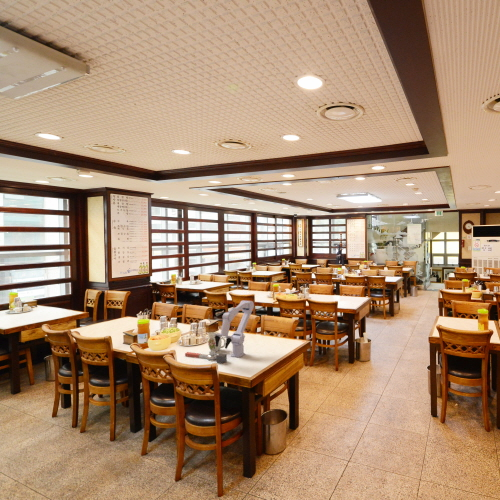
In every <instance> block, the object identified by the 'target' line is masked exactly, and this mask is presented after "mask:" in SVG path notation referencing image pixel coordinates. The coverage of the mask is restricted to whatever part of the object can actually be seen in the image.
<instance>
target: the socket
mask: <svg viewBox="0 0 500 500" xmlns="http://www.w3.org/2000/svg"><path fill="white" fill-rule="evenodd" d="M227 355H228V354H225V353H219V354H217V356H216V360H215V362H217V363H216V364H225V363H226V362H227V361H228V358H227V357H228V356H227Z"/></svg>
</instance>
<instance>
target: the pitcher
mask: <svg viewBox="0 0 500 500" xmlns="http://www.w3.org/2000/svg"><path fill="white" fill-rule="evenodd" d="M215 333H217V334H220V333H221V332H212V331H211V332H210V331H209V332H208V331H207V332H205V334H207V337H208V339H207V346H208V349H209V350H210V351H215V352H218V351H220V349H222V348H225V345H226V338H223V337H224V336H222V337H221V338H220V340H219V344H218V347H216V341H215V336H214V335H215ZM222 340H223V345H222Z"/></svg>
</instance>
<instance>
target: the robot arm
mask: <svg viewBox="0 0 500 500" xmlns="http://www.w3.org/2000/svg"><path fill="white" fill-rule="evenodd" d="M254 307H255V304H254V301H252V300H244V299H243V300H241V301H240V302H239V304H238V305H237V306H236V307H231V309H230V310H228V311H227V312H224V313H223V315H222V316H221V317H222V325H221V330H220V332H219V333H220V334H217V333H218V332H217V333H215V335H214V336H215V341H216V347H218V344H219V340H220V338H222V337H223V338H224V339H225V341H226V345H225V346H224V348H225V349H228V347H229V345H230V344H231V345H232V354H231V355H230V357H234V358H241V357H242V356H244V355H245V352H244V351H245V350H244V342H245V337H246V335H245V334H244V332H245V330H246V327H247V325H248V322H249V319H250V317H251V314H252V313H253V310H254ZM240 311H242V313H243V314H242V317H241V320H240V322H239V324H238V327H237V329H236V331H234V332H233V333H232V334H231V335H229V333H230V327H231V322H232V321H233V320H234V318H235V317H236V316H237V315H238V314H239V312H240Z"/></svg>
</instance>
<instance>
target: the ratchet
mask: <svg viewBox="0 0 500 500" xmlns="http://www.w3.org/2000/svg"><path fill="white" fill-rule="evenodd" d="M184 355H185V356H184V357H189V358H195V359H196V358H197V359H205V360H207V361H210V360H213V361H216V356H217V355H218V354H216V351H211V350H210V351H209V353H208V354H204V353H199V352H198V353H197V352H191V351H190V352H189V351H187V352H185V353H184Z"/></svg>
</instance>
